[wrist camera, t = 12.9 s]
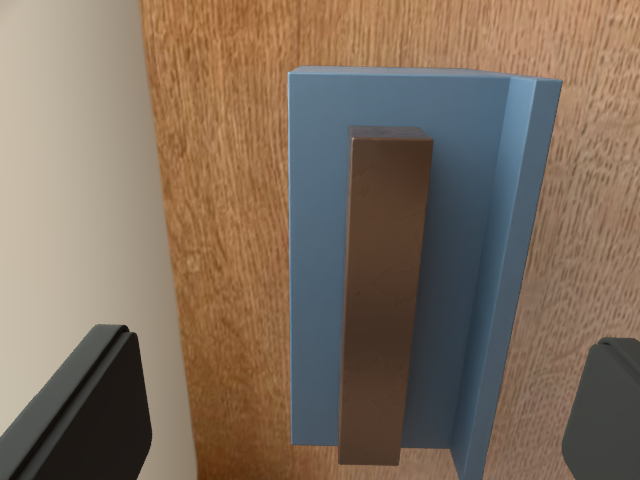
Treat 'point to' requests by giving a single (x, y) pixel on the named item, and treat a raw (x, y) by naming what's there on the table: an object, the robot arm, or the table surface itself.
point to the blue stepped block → (438, 243)
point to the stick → (380, 287)
